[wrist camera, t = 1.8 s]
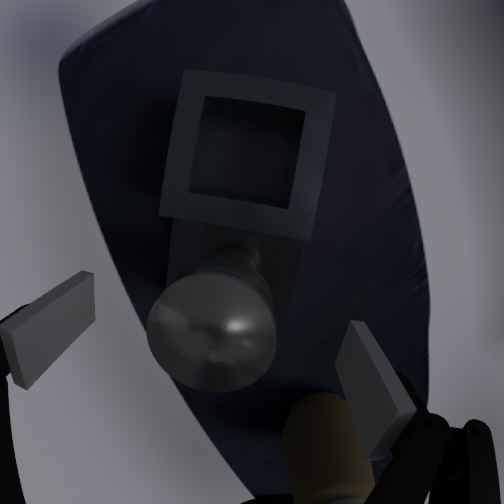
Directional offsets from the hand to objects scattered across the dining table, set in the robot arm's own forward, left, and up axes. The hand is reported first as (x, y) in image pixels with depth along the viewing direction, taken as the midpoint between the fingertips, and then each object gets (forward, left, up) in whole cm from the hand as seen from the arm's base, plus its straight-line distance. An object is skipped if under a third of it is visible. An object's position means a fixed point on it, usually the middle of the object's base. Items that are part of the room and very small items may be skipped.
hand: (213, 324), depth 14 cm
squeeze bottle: (-14, -11, -11) cm, 21 cm away
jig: (+5, 0, -11) cm, 12 cm away
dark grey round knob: (0, 0, -9) cm, 9 cm away
